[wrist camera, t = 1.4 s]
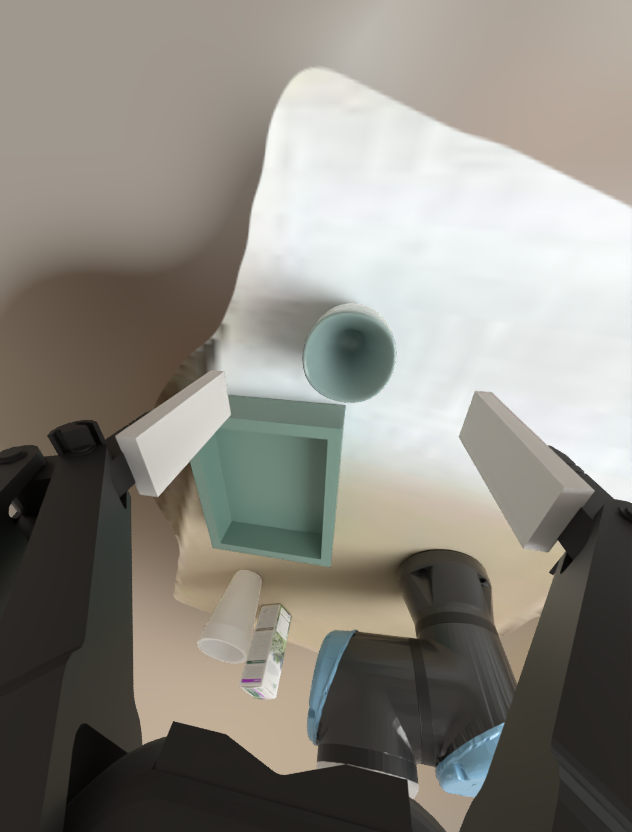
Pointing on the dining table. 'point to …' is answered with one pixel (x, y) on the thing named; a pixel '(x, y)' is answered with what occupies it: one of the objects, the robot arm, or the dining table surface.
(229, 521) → the tray
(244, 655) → the foam cup
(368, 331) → the cup
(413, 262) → the dining table surface
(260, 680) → the syrup box
